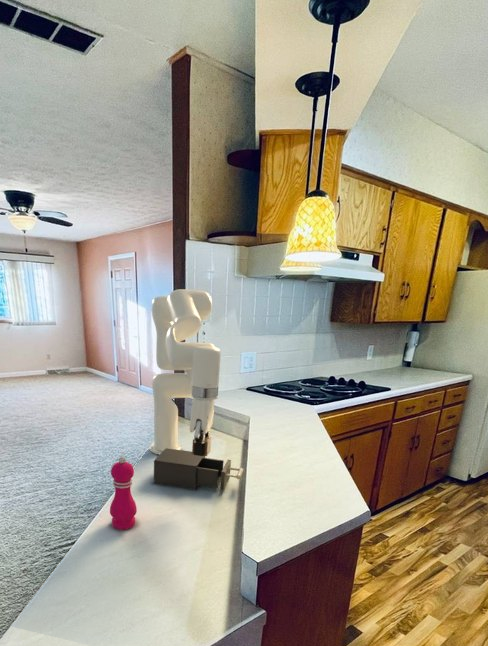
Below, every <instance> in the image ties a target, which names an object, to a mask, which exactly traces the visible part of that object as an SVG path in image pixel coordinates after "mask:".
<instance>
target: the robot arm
mask: <svg viewBox="0 0 488 646" xmlns="http://www.w3.org/2000/svg"><path fill="white" fill-rule="evenodd" d="M212 310H213V300H212V297H211V295H210V294H209V293H208V292H207V291H206V290H199V289H184V288H183V289H182V288H181V289H175V290H173V291H171V292H170V293H169V294H168V295H159V296H156V297H154V298H153V299H152V302H151V317H152V321H153V324H154V326H155V331H156V344H155V345H156V347H155V359H156V365H157V368H158V369H160V370H163V371H184V372H162V373H157V374H155V375H154V376H153V377H152V380H151V381H152V382H151V389H152V394H153V444H151V445H150V446H149V450H150V452H151V453H153V454H155V455H157V456H159V455H160V454H161V453H162V452H163V451H164V450H165V449H166V448H169V449H176V450H182V448H181V446H180V445H178V431H179V428H178V427H179V408H178V406H177V405H176V403H175V401H174V400H173V399H184V398H185V399H186V398H188V399H189V398H192V403H191V409H190V420H189V422H190V423H189V432H190V433H193V432H194V434H193V439H194V455H197V456H204V455H205V443H204V440H205V437H210V436H211V435H210V433H211V432H210V431H211V428H212V427H213V424H214V414H215V400H217V399H218V398H219V397H218V396H219V385H220V384H219V382H220V380H219V379H220V369H221V350H220V348H218V347H216V346H215V345H214V344H213V343H210V342H194V341H185V340H188V339H190V338H192V337H194V336H196V335H197V334H198V333H199V331H200V330H201V327H202V321H204V320H207V319H208V318H209V317H210V316H211V313H212ZM201 436H202V437H201Z"/></svg>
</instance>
